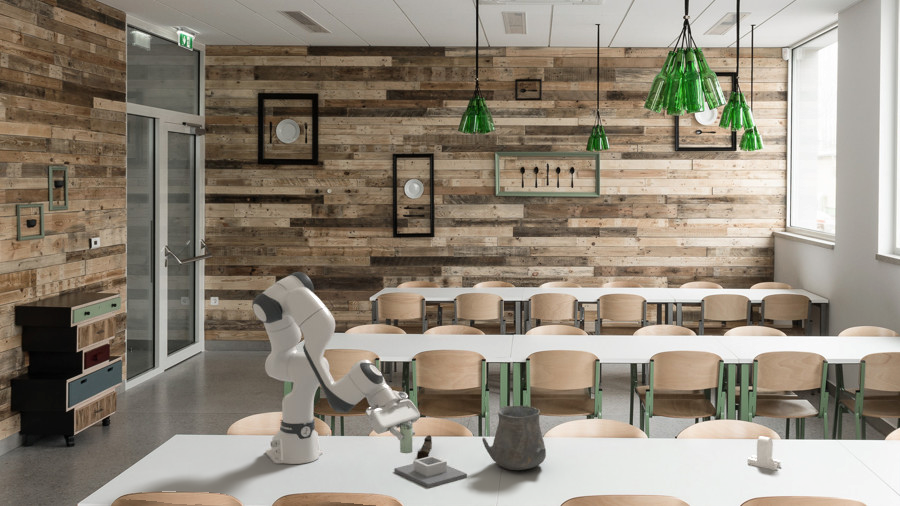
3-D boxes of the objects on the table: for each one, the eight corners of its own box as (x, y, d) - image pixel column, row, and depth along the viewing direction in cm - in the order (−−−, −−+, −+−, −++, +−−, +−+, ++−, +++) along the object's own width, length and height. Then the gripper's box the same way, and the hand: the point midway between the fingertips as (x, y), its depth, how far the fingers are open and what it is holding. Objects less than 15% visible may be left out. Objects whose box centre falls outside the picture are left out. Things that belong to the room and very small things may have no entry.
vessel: (558, 460, 292) (558, 405, 290) (538, 479, 272) (538, 420, 270) (501, 452, 301) (501, 399, 300) (478, 471, 281) (478, 413, 279)
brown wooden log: (428, 462, 292) (428, 449, 291) (417, 461, 292) (417, 448, 292) (437, 446, 310) (437, 434, 310) (426, 445, 311) (426, 433, 311)
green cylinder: (397, 451, 264) (397, 424, 264) (407, 449, 267) (407, 421, 267) (405, 454, 261) (405, 426, 261) (414, 451, 264) (414, 424, 264)
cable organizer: (775, 470, 280) (775, 441, 279) (746, 463, 286) (747, 435, 286) (780, 466, 284) (781, 438, 283) (752, 460, 290) (753, 432, 290)
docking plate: (394, 471, 281) (394, 458, 280) (431, 462, 290) (431, 449, 290) (428, 487, 265) (428, 473, 264) (466, 477, 274) (466, 463, 274)
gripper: (368, 403, 259) (392, 438, 254) (409, 391, 276) (432, 424, 270) (358, 414, 262) (381, 450, 257) (399, 403, 279) (421, 435, 273)
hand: (407, 436), depth 264 cm, fingers closed on green cylinder, 4 cm apart
